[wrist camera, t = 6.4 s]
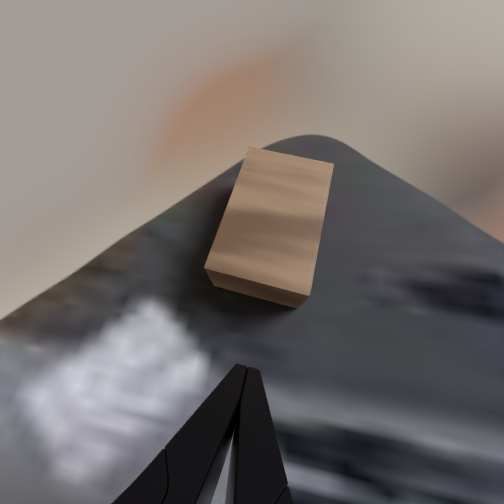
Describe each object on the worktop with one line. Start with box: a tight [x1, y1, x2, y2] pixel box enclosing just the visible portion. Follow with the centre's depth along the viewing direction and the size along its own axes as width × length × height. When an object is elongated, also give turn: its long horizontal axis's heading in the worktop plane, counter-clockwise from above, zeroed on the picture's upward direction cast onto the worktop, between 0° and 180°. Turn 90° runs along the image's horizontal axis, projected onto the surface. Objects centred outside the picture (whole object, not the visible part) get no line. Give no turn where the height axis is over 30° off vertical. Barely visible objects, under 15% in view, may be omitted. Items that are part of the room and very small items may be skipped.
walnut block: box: [204, 147, 334, 309], centre depth 20 cm, size 5×7×11 cm
